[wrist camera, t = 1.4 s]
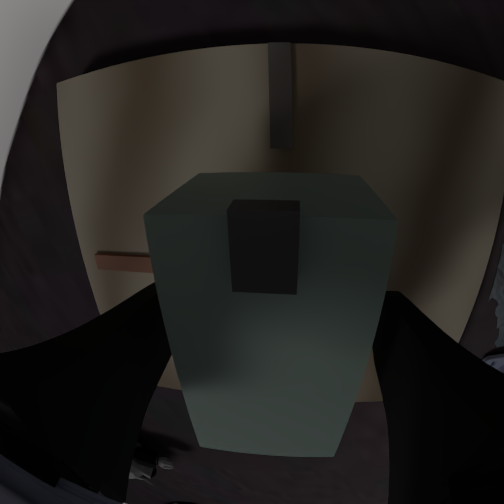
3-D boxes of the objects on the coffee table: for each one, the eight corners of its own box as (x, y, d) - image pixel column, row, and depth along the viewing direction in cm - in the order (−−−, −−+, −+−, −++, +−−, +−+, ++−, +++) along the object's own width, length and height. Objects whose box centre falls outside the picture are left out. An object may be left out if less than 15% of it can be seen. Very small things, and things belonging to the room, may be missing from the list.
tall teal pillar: (360, 166, 9) (410, 216, 5) (330, 380, 13) (333, 469, 9) (198, 163, 9) (126, 210, 5) (220, 374, 14) (196, 459, 9)
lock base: (493, 84, 9) (536, 84, 6) (426, 379, 17) (437, 418, 14) (75, 83, 12) (30, 84, 9) (134, 364, 20) (114, 398, 17)
